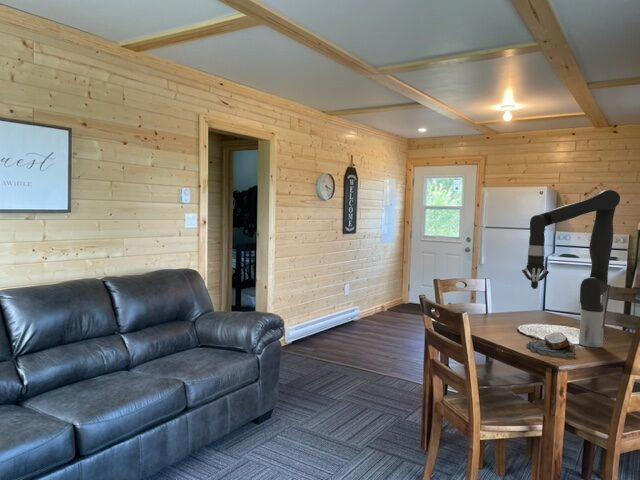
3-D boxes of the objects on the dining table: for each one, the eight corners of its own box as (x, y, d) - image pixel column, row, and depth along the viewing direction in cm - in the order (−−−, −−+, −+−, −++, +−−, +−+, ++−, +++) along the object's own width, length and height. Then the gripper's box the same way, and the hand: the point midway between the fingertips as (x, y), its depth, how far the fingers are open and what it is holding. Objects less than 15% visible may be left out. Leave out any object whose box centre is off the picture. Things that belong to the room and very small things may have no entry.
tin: (553, 350, 210) (572, 345, 208) (551, 343, 210) (570, 339, 208) (543, 341, 224) (561, 336, 223) (541, 334, 224) (559, 330, 223)
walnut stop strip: (562, 341, 224) (562, 336, 224) (574, 350, 208) (574, 345, 208) (557, 340, 224) (558, 335, 224) (569, 350, 209) (570, 345, 208)
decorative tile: (517, 347, 220) (517, 342, 220) (546, 343, 229) (547, 339, 229) (554, 360, 202) (554, 355, 202) (584, 355, 211) (585, 350, 210)
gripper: (547, 254, 237) (545, 288, 238) (520, 253, 239) (518, 286, 240) (552, 255, 229) (550, 290, 230) (524, 254, 231) (522, 289, 232)
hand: (534, 288), depth 235 cm, fingers closed
